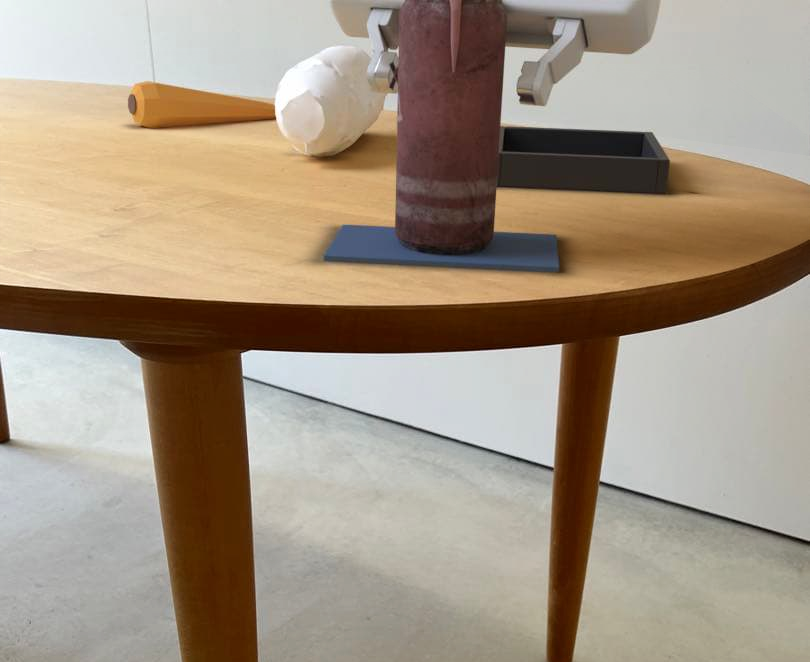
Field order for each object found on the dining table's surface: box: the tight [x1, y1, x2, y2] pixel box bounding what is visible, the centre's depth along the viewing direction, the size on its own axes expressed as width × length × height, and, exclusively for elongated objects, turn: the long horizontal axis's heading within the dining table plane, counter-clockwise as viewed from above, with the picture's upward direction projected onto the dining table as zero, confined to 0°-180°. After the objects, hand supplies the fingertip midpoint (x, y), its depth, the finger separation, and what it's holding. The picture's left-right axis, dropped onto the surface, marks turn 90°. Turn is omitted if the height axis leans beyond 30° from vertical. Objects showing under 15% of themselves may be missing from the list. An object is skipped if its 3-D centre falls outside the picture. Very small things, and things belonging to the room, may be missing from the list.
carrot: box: [127, 80, 276, 129], centre depth 112 cm, size 20×4×4 cm, turn 124°
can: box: [394, 0, 507, 255], centre depth 66 cm, size 6×6×14 cm
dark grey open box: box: [497, 125, 671, 196], centre depth 91 cm, size 14×14×3 cm
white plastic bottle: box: [274, 44, 389, 158], centre depth 97 cm, size 8×19×8 cm, turn 172°
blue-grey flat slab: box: [322, 224, 560, 274], centre depth 69 cm, size 14×8×1 cm, turn 84°
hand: (453, 92), depth 65 cm, fingers open, 8 cm apart
